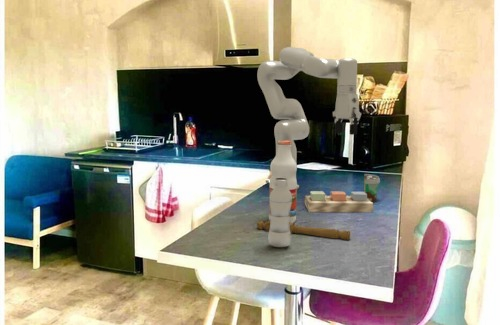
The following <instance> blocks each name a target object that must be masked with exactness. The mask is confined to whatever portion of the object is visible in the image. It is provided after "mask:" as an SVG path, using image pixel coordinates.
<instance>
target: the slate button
mask: <svg viewBox="0 0 500 325" xmlns="http://www.w3.org/2000/svg"><path fill="white" fill-rule="evenodd" d="M350 196H351V200H352V201H367V194H366V193H365V192H364V191H350Z"/></svg>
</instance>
